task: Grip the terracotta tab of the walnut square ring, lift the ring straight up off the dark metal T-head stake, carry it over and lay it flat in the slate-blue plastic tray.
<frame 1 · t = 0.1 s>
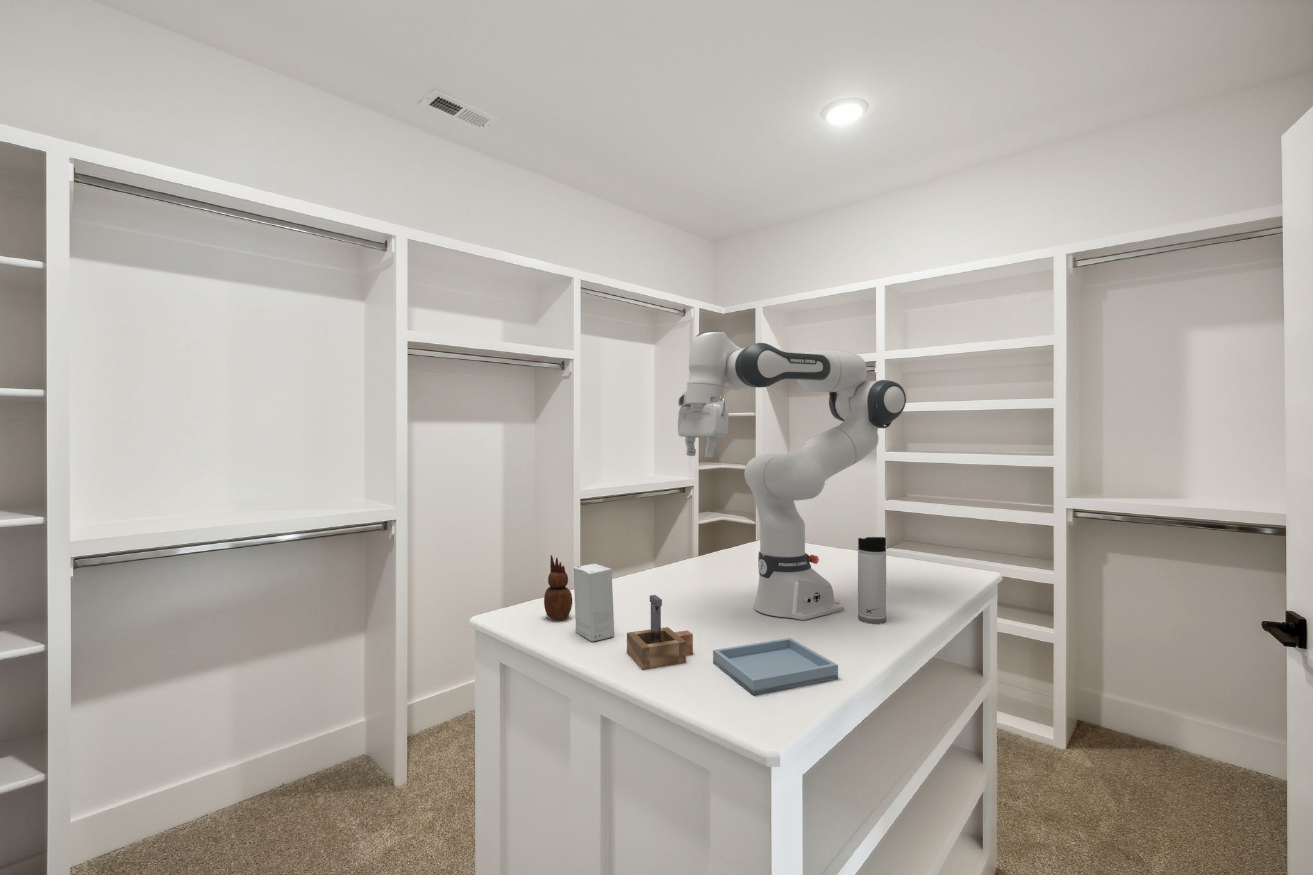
hand: (699, 456, 133), 39 cm above the table, tool pointing down, fingers open, 8 cm apart
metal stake: (655, 657, 111), on the table
skincare box: (593, 635, 124), on the table
wooden figurine: (558, 619, 135), on the table
travel mug: (872, 620, 133), on the table
slate-blue tray: (773, 670, 105), on the table
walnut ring: (655, 657, 111), on the table
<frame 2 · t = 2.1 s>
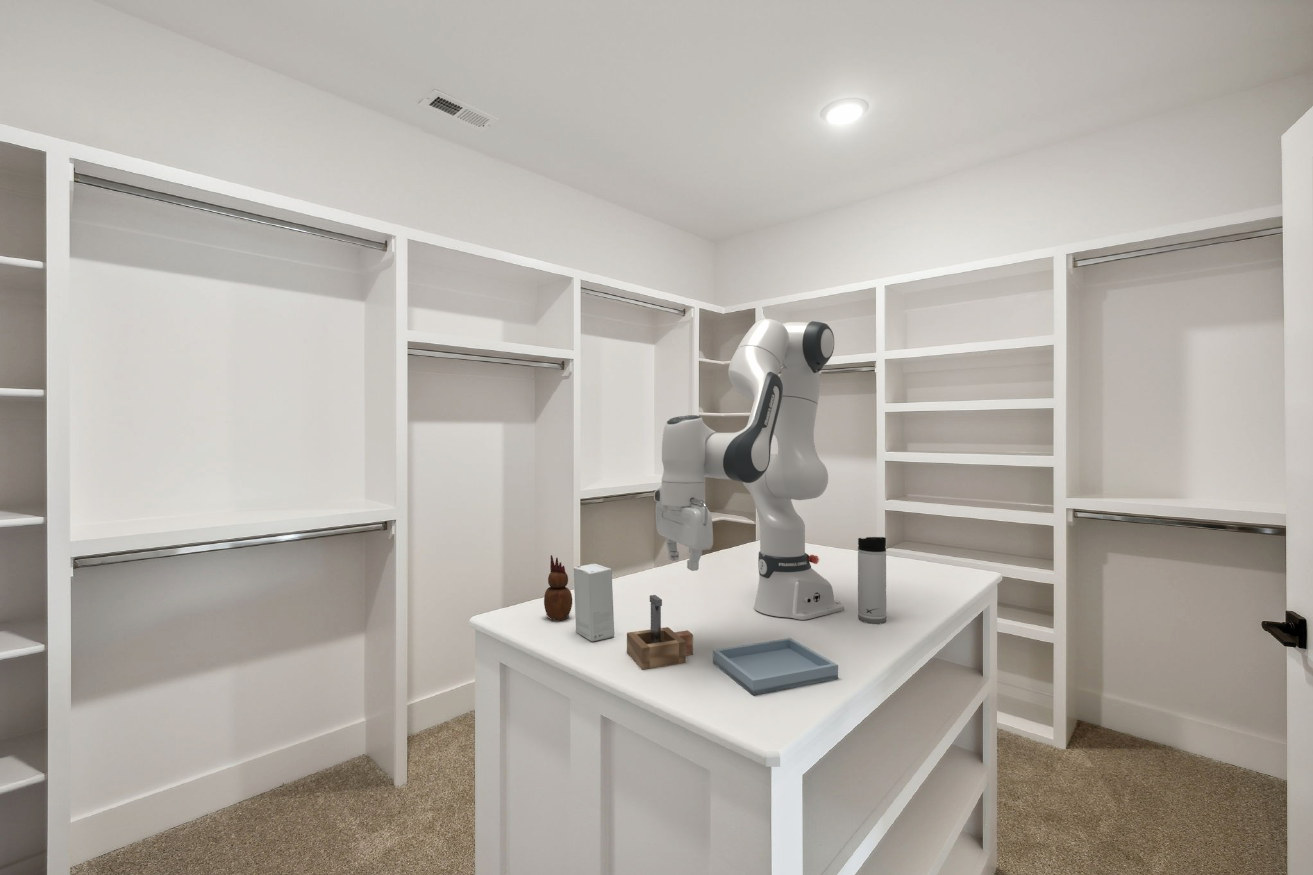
hand: (682, 564, 113), 18 cm above the table, tool pointing down, fingers open, 8 cm apart
nothing on the table moved.
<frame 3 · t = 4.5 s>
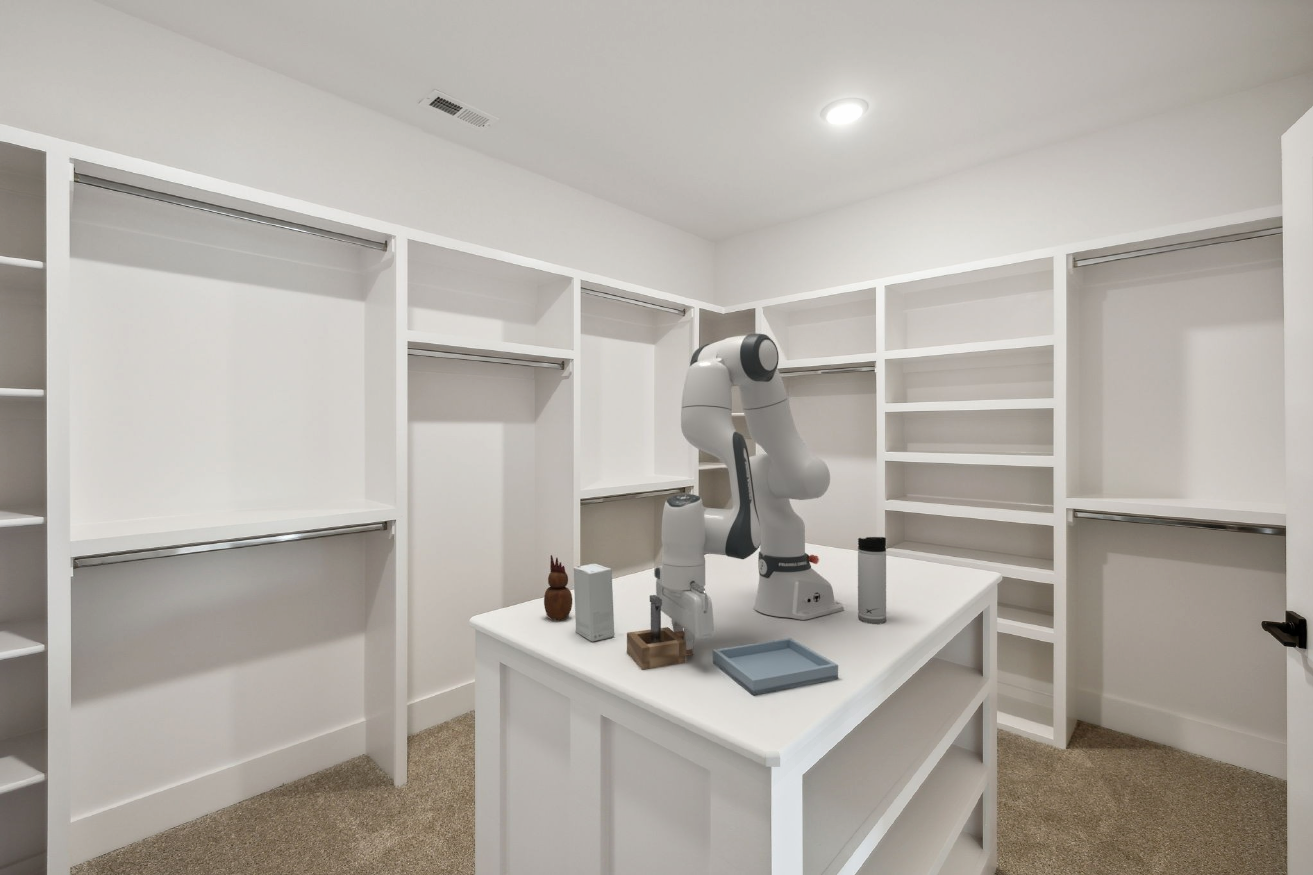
hand: (683, 644, 113), 2 cm above the table, tool pointing down, fingers closed on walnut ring, 2 cm apart
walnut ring: (655, 657, 111), on the table, touching gripper
everything else where it was.
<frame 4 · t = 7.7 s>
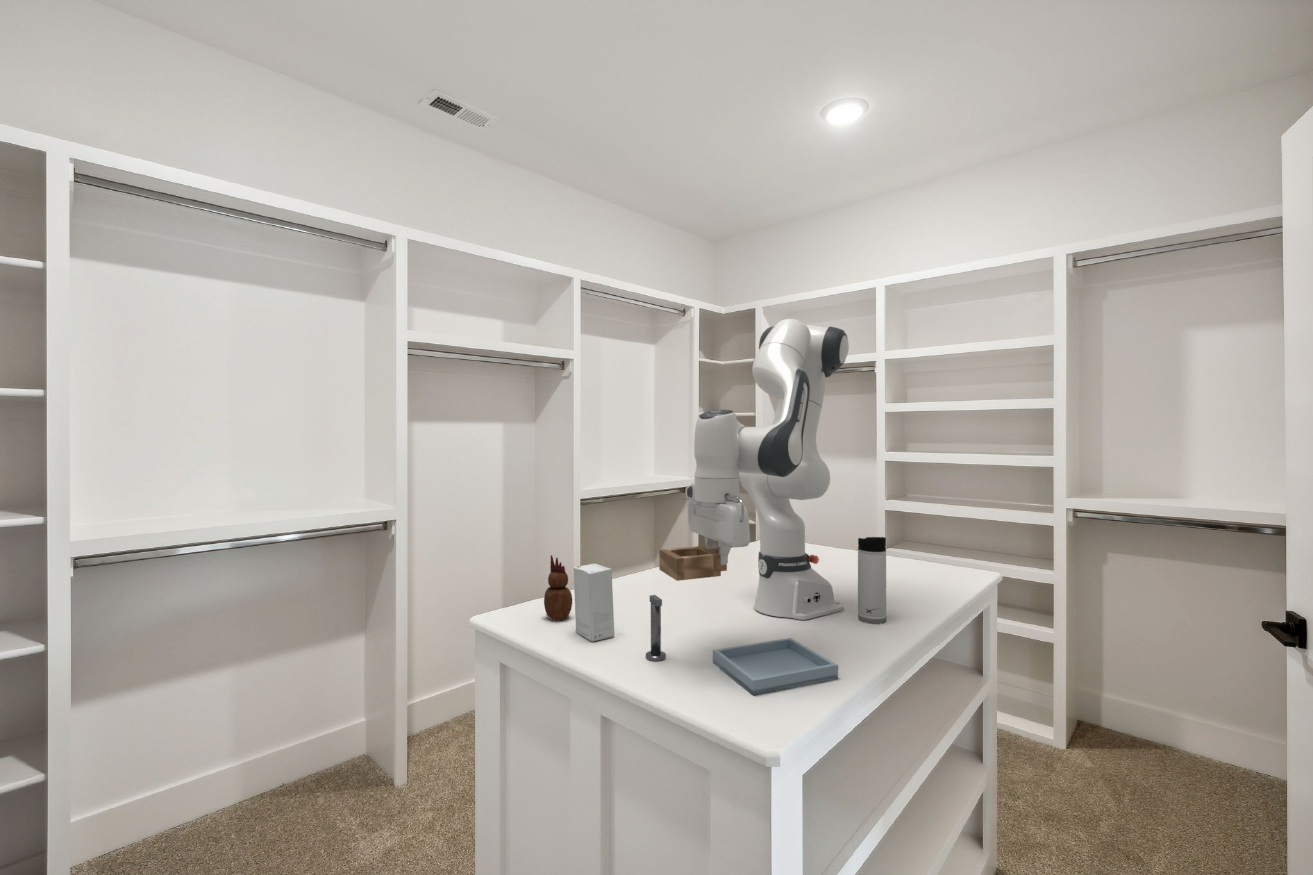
hand: (717, 561, 111), 19 cm above the table, tool pointing down, fingers closed on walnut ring, 2 cm apart
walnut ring: (689, 572, 109), point 17 cm above the table, touching gripper
everything else where it was.
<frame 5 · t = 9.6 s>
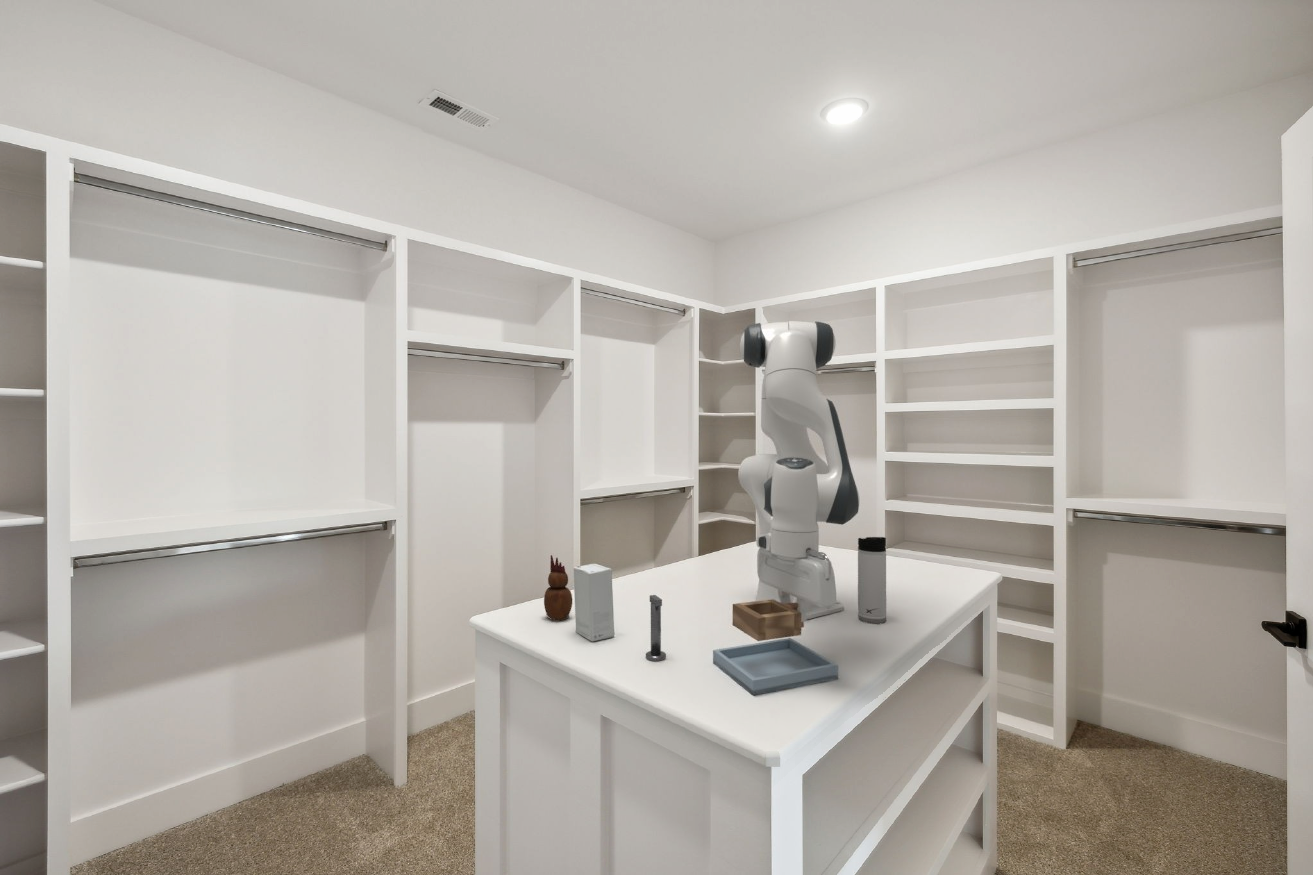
hand: (793, 617, 106), 9 cm above the table, tool pointing down, fingers closed on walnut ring, 2 cm apart
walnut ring: (765, 629, 104), point 8 cm above the table, touching gripper
everything else where it was.
when the fingers open (4 cm above the table, at t = 11.0 s): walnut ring drops 2 cm, resting on slate-blue tray.
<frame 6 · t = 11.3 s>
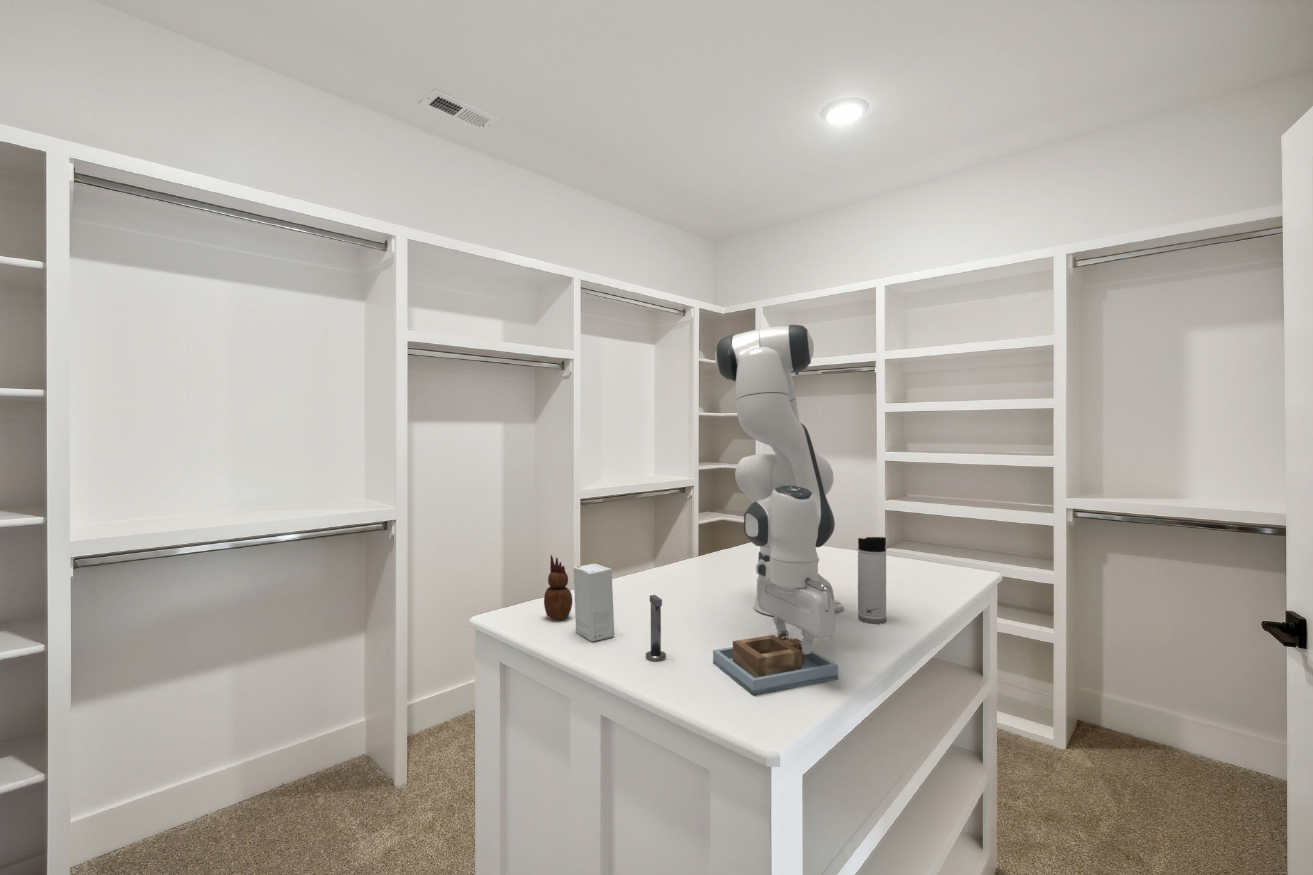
hand: (793, 646, 106), 4 cm above the table, tool pointing down, fingers open, 5 cm apart
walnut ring: (766, 667, 104), point 1 cm above the table, touching slate-blue tray
everything else where it was.
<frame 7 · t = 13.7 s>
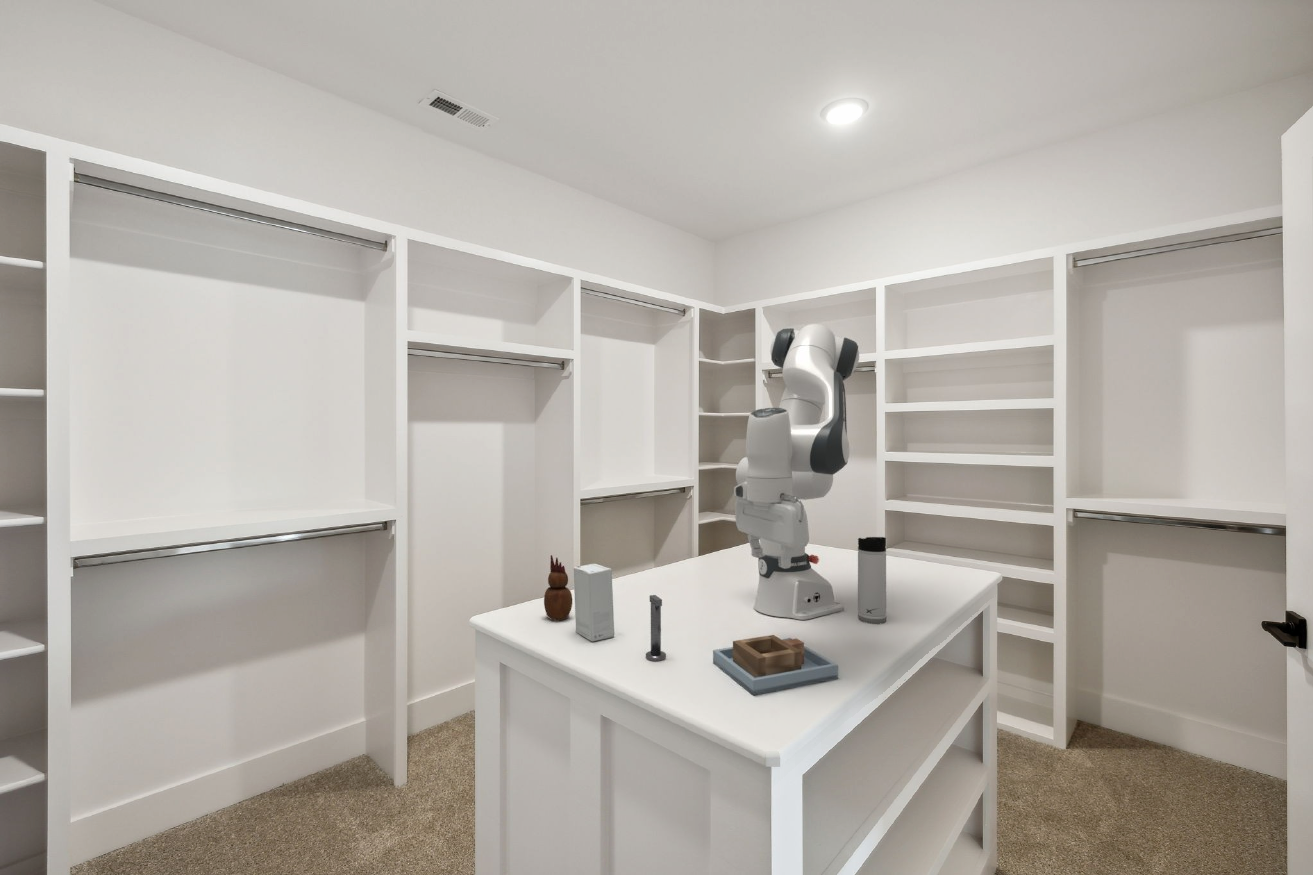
hand: (770, 562, 110), 19 cm above the table, tool pointing down, fingers open, 8 cm apart
nothing on the table moved.
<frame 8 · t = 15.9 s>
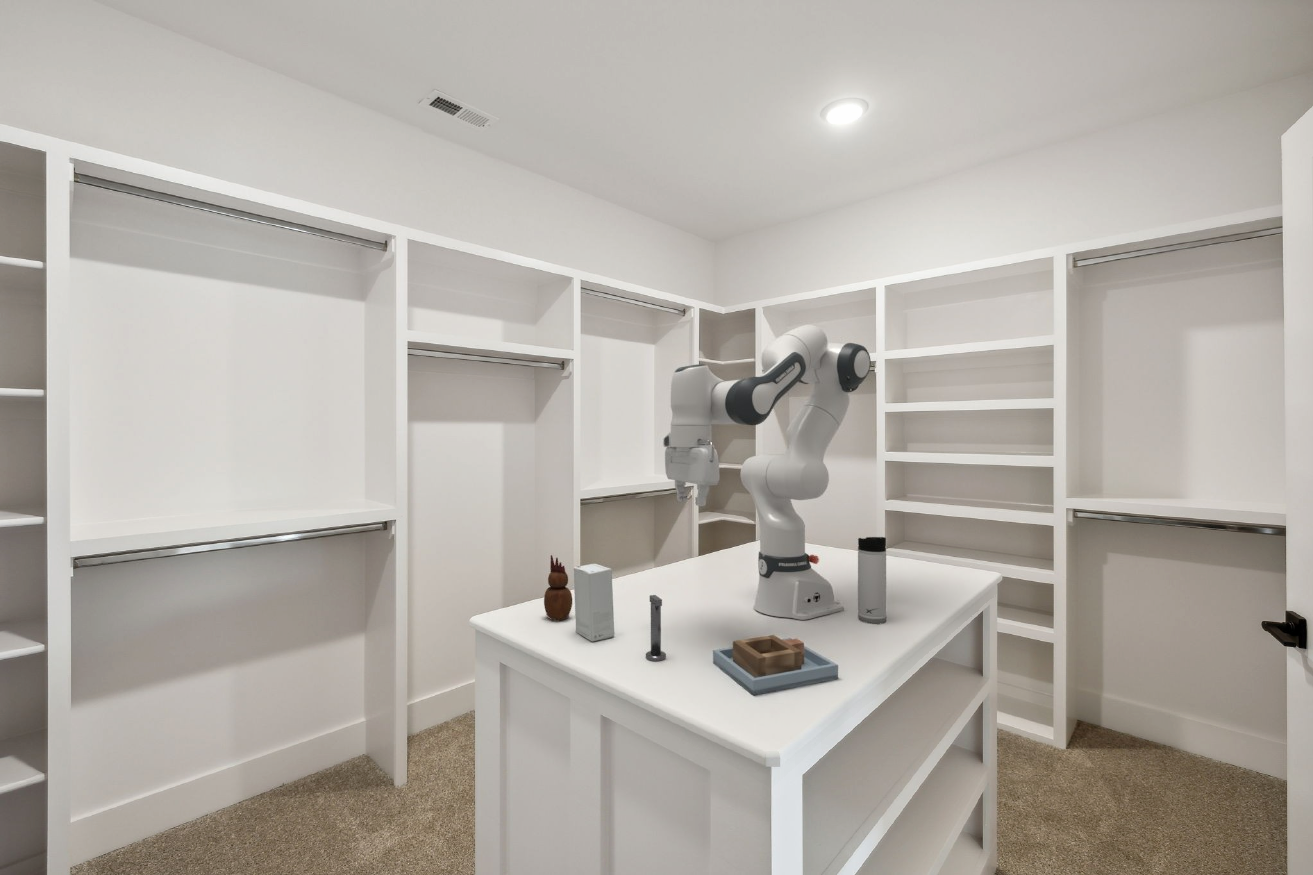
hand: (691, 503, 122), 29 cm above the table, tool pointing down, fingers open, 8 cm apart
nothing on the table moved.
at the end: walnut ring inside the target area on the slate-blue tray (1.0 cm from its centre), point 0.8 cm above the slate-blue tray's base; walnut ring tilted 0°; the gripper is holding nothing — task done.
